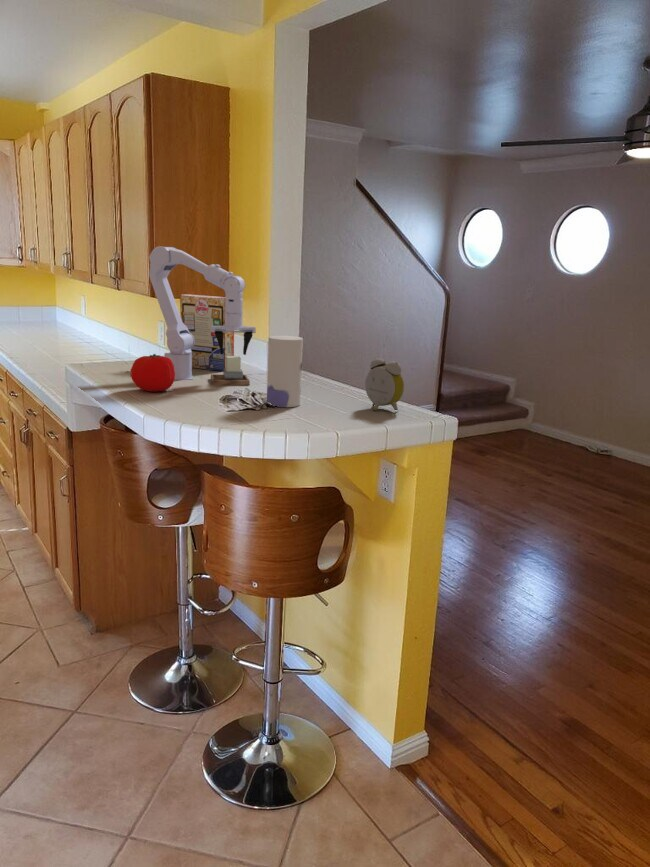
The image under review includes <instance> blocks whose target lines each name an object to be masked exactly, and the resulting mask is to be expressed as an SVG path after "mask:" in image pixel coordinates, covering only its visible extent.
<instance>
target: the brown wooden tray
mask: <svg viewBox="0 0 650 867" xmlns="http://www.w3.org/2000/svg"><path fill="white" fill-rule="evenodd" d="M210 380H211V383H212V385H213V386H248V387H249V386H251V385H250V379H249V377H248V376H247V374H243V380H223V373H222V374H216V373H215V374H214V373H213V374H212V373H211V374H210Z"/></svg>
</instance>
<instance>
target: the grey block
mask: <svg viewBox="0 0 650 867" xmlns="http://www.w3.org/2000/svg"><path fill="white" fill-rule="evenodd" d="M222 374H223V380H243V375H244V371H243V370H242V369H241V368H240V371H227V370H226V369H223V371H222Z"/></svg>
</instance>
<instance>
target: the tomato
mask: <svg viewBox="0 0 650 867" xmlns="http://www.w3.org/2000/svg"><path fill="white" fill-rule="evenodd" d="M165 356H167V355H165ZM131 365H132V366H131V369H130V377H131V380H132V383H134V385H135V386H136V387H138V388H139V389H140V390H142V391H147V392H162V391H167V390H169V389H170V388H171V387H172V385H173V384H174V382H175V381H176V380H175V370H174V365H173V363H172V361H171V360H170V359H169V358H167V357H164V355H159V354H156V353H153V354H150V355H143V356H140V357H138V358H136V359H134V362H133V363H132V364H131Z"/></svg>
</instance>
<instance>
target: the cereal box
mask: <svg viewBox="0 0 650 867" xmlns="http://www.w3.org/2000/svg"><path fill="white" fill-rule="evenodd" d="M225 298H226V296H224V297H223V296H215V295H213V296H211V295H201V294H200V295H199V294H179V304H180V305H179V307H180V308H179V309H180V311H179V314H180V316H181V319H182V322H183V323H184V324H185V325H186V327H187V328H188V330H189V332H190V333H191V334H192V335H193V337H194V340H195V343H194V346H193V347H192V348H191V351H192V369H194V368H195V369H203V370H209V371H215V372H217V371H218V372H223V369H226V356H235V332H222V333H223V354H220V347H219V343H218V340H217V338H216V335H215V333H214V332H211V326H225ZM227 331H235V330H227Z"/></svg>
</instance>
